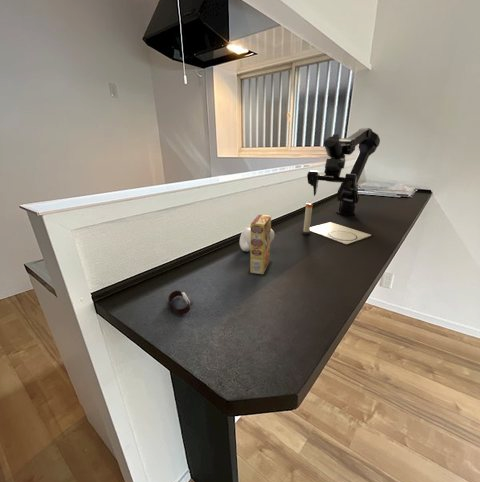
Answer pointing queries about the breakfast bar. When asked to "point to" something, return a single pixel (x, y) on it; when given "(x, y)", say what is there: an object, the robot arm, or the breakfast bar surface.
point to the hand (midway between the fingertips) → (325, 196)
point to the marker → (307, 218)
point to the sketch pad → (339, 233)
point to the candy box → (260, 243)
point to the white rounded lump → (249, 238)
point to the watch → (179, 293)
